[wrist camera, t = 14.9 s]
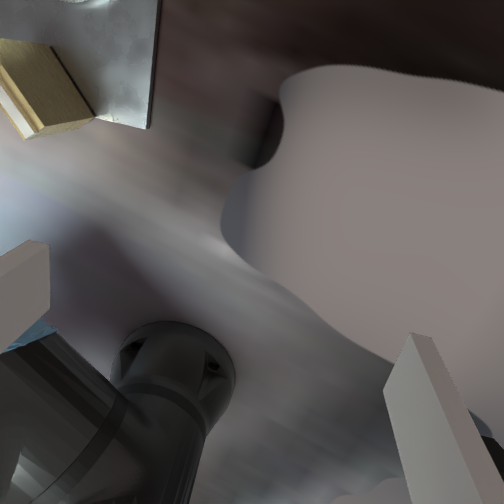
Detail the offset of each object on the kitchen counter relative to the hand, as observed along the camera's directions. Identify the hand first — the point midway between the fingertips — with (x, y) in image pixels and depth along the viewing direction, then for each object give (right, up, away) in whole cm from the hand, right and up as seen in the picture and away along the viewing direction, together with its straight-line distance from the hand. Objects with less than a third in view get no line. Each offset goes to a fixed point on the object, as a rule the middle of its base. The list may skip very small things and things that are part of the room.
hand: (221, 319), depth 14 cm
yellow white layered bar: (-16, +18, +22) cm, 33 cm away
